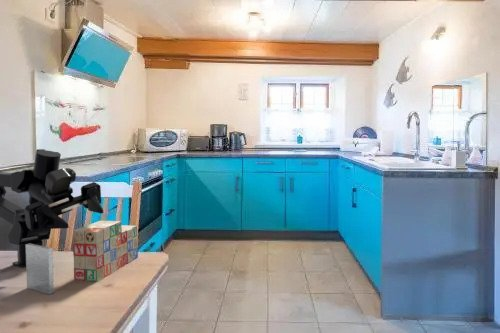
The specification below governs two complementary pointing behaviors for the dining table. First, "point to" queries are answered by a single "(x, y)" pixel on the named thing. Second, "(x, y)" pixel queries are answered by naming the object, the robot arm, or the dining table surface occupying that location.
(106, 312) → the dining table surface
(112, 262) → the stack of blocks
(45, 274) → the bookend
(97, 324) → the dining table surface
